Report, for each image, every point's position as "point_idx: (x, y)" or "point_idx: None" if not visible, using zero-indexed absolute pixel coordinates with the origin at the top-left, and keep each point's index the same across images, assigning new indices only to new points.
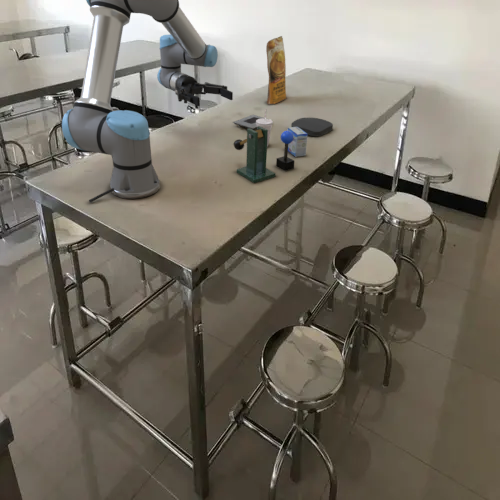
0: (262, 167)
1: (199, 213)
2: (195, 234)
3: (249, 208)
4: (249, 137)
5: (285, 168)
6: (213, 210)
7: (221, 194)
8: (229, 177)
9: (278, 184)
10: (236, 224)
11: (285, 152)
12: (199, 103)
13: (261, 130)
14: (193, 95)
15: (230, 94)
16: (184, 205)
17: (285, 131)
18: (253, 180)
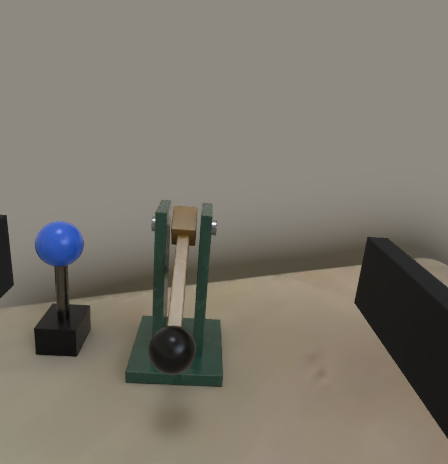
0: (166, 320)
1: None
2: None
3: (293, 285)
4: (215, 232)
5: (89, 321)
6: None
7: (329, 331)
8: (263, 375)
9: None
10: (339, 274)
11: (68, 290)
12: (359, 283)
13: (174, 208)
14: (421, 277)
15: (6, 237)
16: None
17: (65, 224)
18: (220, 324)
